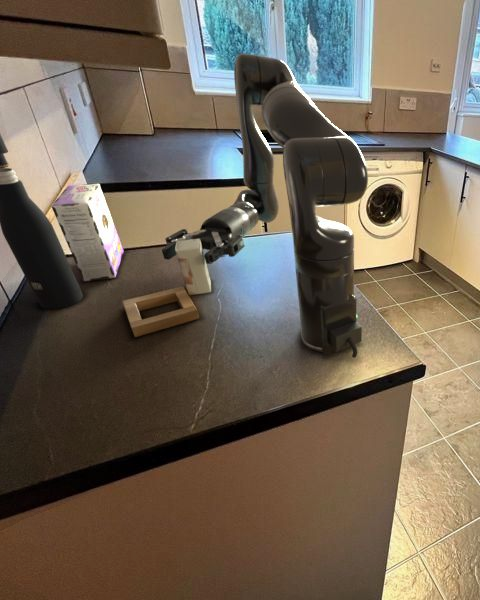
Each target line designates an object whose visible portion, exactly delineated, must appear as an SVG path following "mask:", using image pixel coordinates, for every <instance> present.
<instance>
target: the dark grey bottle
mask: <svg viewBox="0 0 480 600" xmlns="http://www.w3.org/2000/svg"><path fill="white" fill-rule="evenodd" d="M8 153H9V150H8V148H7V145H6V144H5V141H4V139H3V136H2V135H1V133H0V230H1V232H2V235H3V237H4V239H5V241H6V243H7V245H8V247H9V248H10V250H11V252H12V254H13V257H14V258H15V260H16V262H17V264H18V265H19V267H20V269H21V271H22V273H23V275H24V277H25V280H26V282H27V283H28V285H29V287H30V289H31V290H32V293H33V294H34V296H35V298H36V300H37V302H38V304H39V305H40V307H41V308H43V309H46V310H57V309H62V308H67V307H70V306H73V305H74V304H76V303H78V302H80V301H81V300H82V299H83V297H84V295H83V292H82V290H81V287H80V285H79V282H78V280H77V278H76V276H75V273H74V272H73V269H72V267H71V265H70V262H69V260H68V258H67V256H66V253H65V251H64V249H63V246H62V244H61V242H60V240H59V237H58V235H57V232H56V231H55V229H54V226H53V224H52V222H51V221H50V219H49V217H47V216H46V214H45V213H44V212H43V210H42V209H41V208H40V207H39V206H38V205H37V204H36V203H35V202H34V201H33V200H32V198H30V197H29V194H28V192H27V190H26V188H25V186H24V183H23V181H22V180H20V179H19V176H17V175H16V174H17V172H16V171H15V170H14V169H13V168H10V164H9V162H8V161H7V159H6V157H5V155H4V154H8Z"/></svg>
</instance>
